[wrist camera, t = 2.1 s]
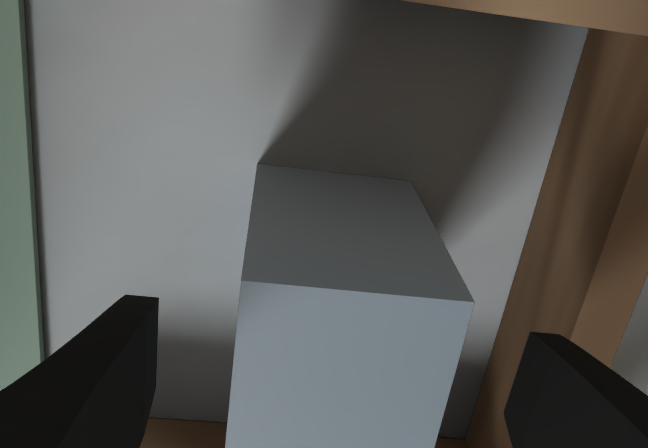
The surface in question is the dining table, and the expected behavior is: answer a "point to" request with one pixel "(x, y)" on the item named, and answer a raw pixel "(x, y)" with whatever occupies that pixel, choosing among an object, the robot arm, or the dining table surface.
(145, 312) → the robot arm
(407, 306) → the slate block
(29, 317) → the green mat
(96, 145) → the dining table surface
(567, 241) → the walnut stall
